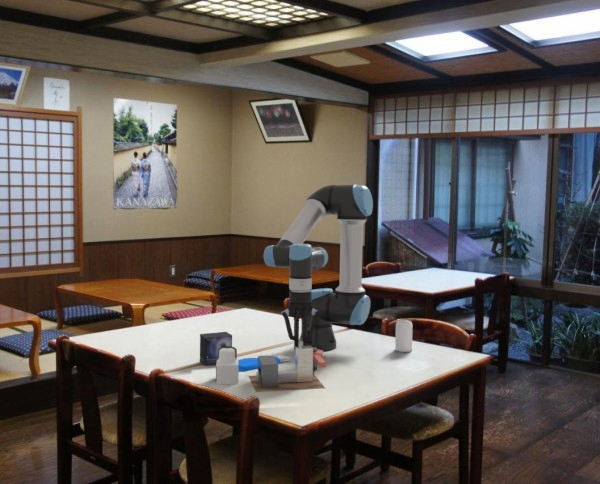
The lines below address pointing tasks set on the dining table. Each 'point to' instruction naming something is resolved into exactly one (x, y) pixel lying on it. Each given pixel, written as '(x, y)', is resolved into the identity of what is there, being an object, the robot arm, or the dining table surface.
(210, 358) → the small box
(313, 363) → the post
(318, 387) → the walnut board
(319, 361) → the red t-shaped bar
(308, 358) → the l-shaped bracket
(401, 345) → the can
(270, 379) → the grey block
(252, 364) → the spray bottle
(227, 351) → the medicine bottle
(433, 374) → the dining table surface
